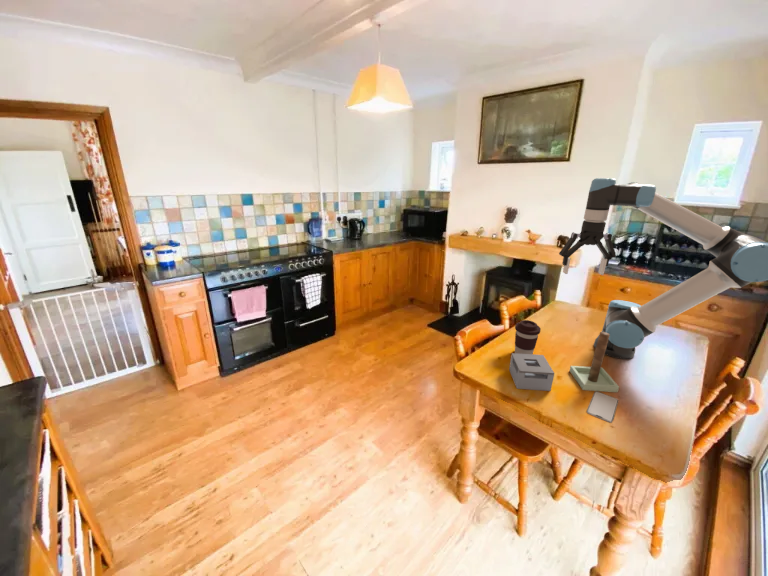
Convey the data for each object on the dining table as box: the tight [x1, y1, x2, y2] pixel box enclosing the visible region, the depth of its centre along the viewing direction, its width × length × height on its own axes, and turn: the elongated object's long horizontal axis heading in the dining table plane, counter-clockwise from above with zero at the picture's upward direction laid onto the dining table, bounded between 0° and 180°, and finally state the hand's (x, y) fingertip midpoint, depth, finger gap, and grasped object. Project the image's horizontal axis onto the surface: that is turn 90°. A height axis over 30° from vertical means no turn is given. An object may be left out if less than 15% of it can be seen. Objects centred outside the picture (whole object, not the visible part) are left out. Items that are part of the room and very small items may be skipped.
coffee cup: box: [514, 319, 541, 354], centre depth 140 cm, size 10×10×15 cm
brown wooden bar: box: [588, 331, 610, 382], centre depth 120 cm, size 3×3×20 cm
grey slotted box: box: [508, 352, 555, 392], centre depth 124 cm, size 12×12×8 cm
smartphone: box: [586, 391, 620, 424], centre depth 111 cm, size 7×1×15 cm
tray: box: [569, 365, 620, 393], centre depth 124 cm, size 12×12×2 cm
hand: (582, 273), depth 131 cm, fingers open, 13 cm apart
